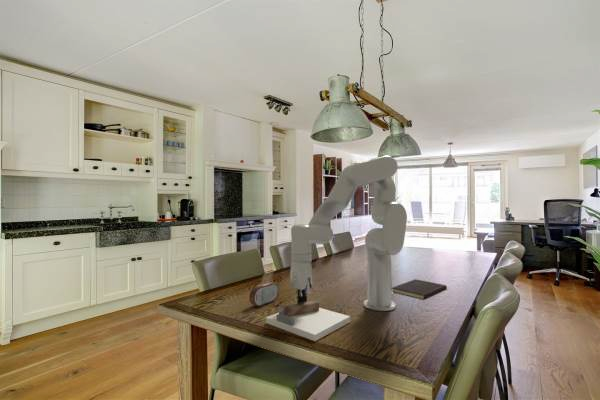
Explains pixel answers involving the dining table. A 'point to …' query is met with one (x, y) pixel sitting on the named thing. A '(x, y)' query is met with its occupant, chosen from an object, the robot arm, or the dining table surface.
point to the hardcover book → (419, 288)
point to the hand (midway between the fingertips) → (302, 305)
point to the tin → (264, 293)
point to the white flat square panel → (310, 323)
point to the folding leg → (299, 308)
